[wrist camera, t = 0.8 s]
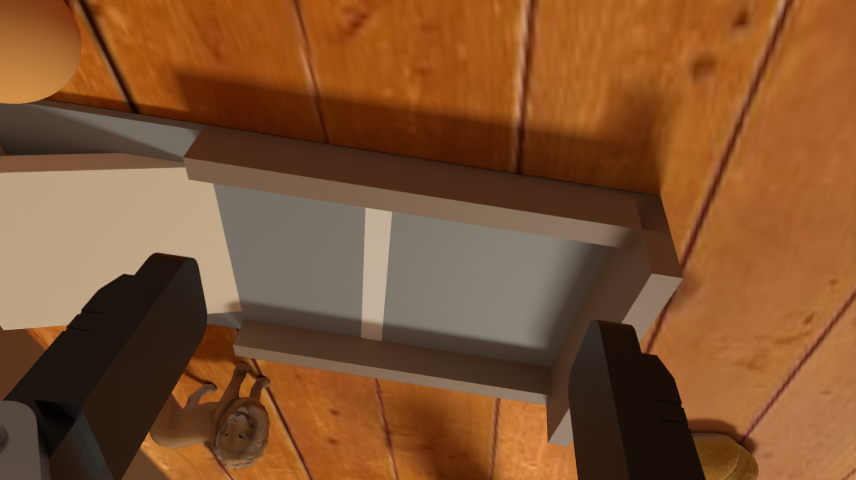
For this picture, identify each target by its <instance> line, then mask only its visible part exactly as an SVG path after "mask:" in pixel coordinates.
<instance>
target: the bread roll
mask: <svg viewBox="0 0 856 480" xmlns="http://www.w3.org/2000/svg"><path fill="white" fill-rule="evenodd" d="M691 434H692V437H693V440H694V443H695V446H696V450H697V453H698V456H699V459H700V462H701V465H702V469H703V472H704V475H705V478H706V480H756V479H757V477H758V472H759V471H758V465H757V462H756V460H755V458H754V457H753V456H752V455H751V453H750V452H749V451H747V450H746V449H745V448H744V447H742V446H741V445H739V444H737V443H736V442H735V441H734V440H733V439H732V438H731V437H729V436H727V435H725V434H721V433H691Z"/></svg>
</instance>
